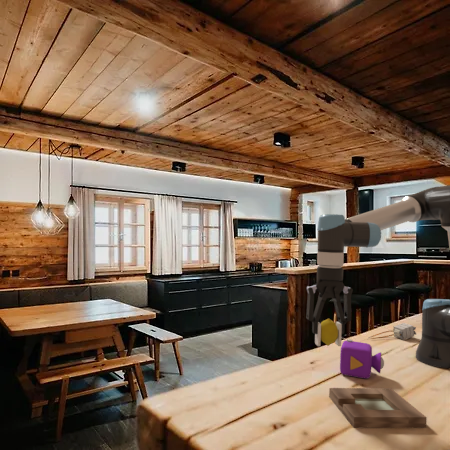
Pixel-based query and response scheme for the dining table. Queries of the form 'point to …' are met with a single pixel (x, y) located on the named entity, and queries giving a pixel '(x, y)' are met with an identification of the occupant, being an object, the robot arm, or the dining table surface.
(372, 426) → the pocket board
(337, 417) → the dining table surface
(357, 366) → the toy camera
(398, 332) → the electrical component
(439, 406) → the dining table surface
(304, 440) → the dining table surface
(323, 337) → the lemon
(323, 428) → the dining table surface
